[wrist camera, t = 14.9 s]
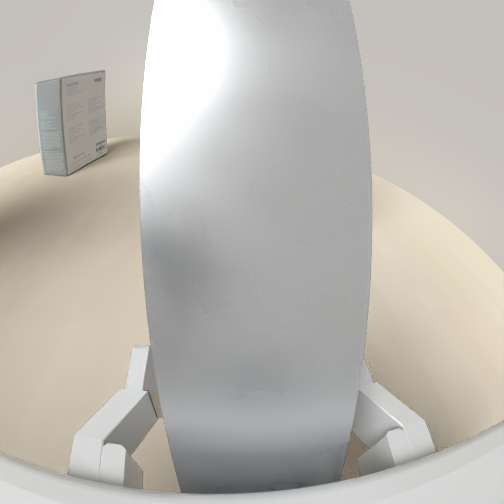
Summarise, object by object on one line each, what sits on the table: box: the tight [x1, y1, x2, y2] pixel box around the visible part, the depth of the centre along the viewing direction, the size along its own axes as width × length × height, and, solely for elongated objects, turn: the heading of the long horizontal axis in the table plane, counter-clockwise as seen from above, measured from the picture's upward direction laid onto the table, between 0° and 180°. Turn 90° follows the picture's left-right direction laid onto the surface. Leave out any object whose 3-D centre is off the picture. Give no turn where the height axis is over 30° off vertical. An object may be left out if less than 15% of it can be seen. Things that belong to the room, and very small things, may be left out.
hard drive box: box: [35, 70, 108, 176], centre depth 52 cm, size 16×8×20 cm, turn 170°
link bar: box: [140, 0, 372, 494], centre depth 8 cm, size 6×22×4 cm
